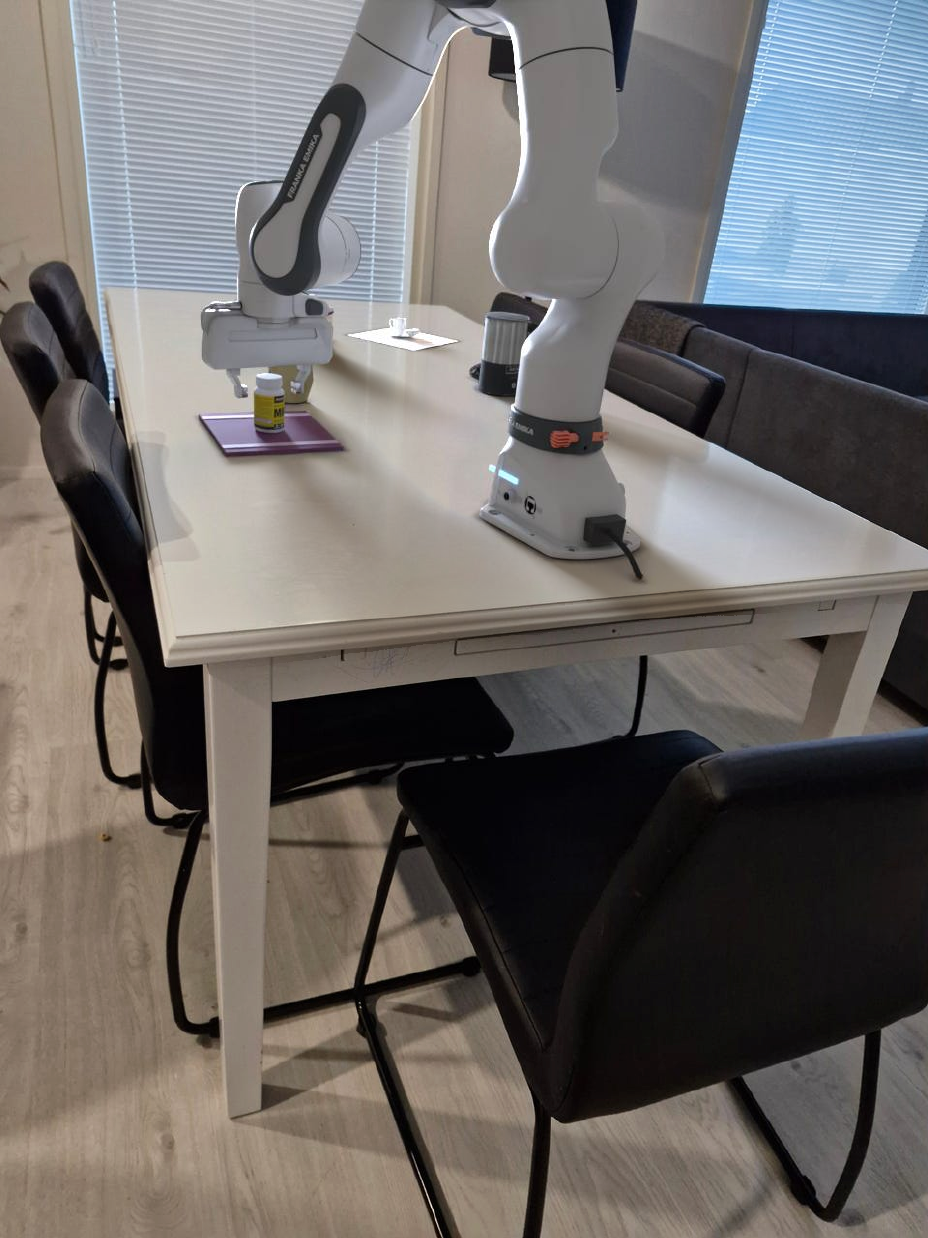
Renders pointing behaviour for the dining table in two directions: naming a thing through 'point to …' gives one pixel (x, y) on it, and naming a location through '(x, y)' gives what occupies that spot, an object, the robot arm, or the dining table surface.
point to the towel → (268, 434)
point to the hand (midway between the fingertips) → (269, 394)
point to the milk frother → (501, 352)
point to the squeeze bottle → (287, 376)
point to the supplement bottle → (269, 403)
